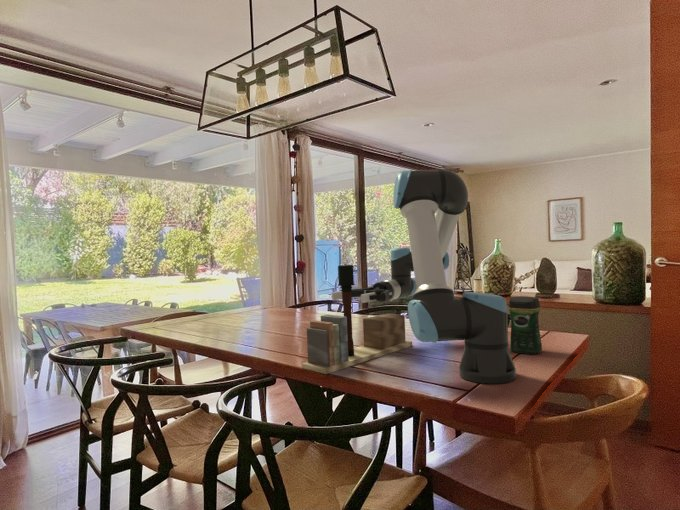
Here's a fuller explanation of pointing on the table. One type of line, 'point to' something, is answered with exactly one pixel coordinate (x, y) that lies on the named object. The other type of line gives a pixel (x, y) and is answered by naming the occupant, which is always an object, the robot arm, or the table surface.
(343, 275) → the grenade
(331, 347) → the book rack
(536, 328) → the coffee jar
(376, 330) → the bookend
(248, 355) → the table surface
